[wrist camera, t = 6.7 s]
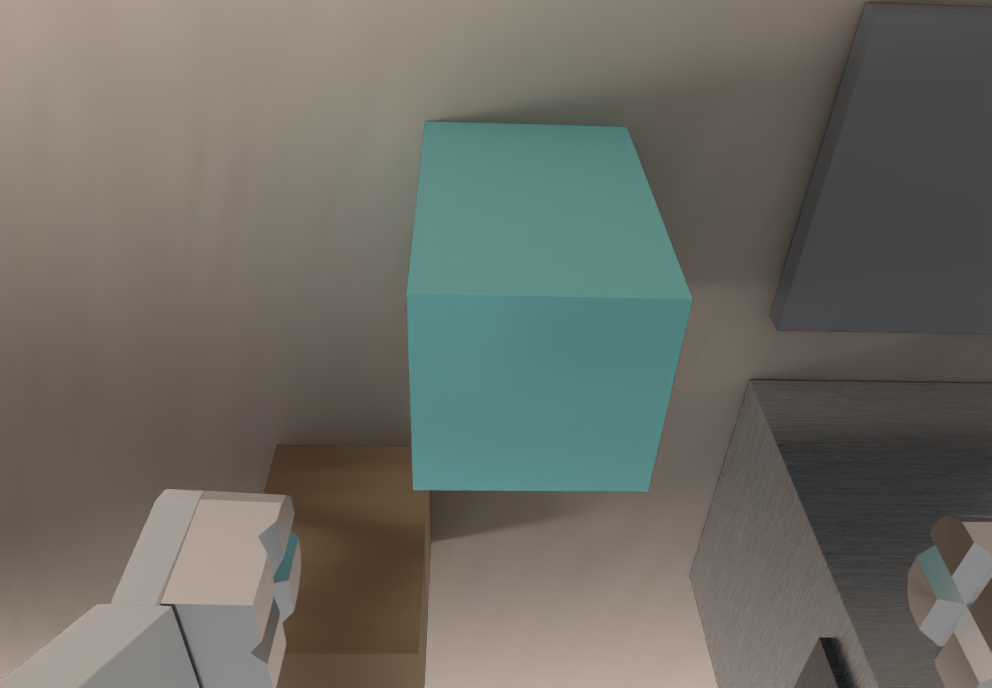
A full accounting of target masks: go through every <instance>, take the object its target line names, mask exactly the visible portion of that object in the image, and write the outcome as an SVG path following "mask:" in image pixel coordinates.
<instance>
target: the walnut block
mask: <svg viewBox="0 0 992 688" xmlns="http://www.w3.org/2000/svg"><path fill="white" fill-rule="evenodd" d="M264 494H277V495H288V496H291V499H292V504H293V508H294V513H295V515H294V519H293V523H292V527H291V531H292V532H293V533H294V534H295V535H297V536H298V537H299V543H300V549H301V572H300V581H299V591H298V595H297V600H296V605H295V609H294V612H293V613H292V614H291V615H290V616H289V617H288V618H287V619H286V620H285V621H283V622H282V623H283V628H284V633H285V639H286V648H285V653H284V657H283V661H282V665H281V670H280V674H279V678H278V682H277V686H276V688H424V686H425V664H426V642H427V619H428V597H429V575H430V553H431V509H430V490H413V475H412V446H331V445H277V446H276V450H275V454H274V458H273V461H272V465H271V469H270V473H269V477H268V481H267V484H266V488H265V492H264Z"/></svg>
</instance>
